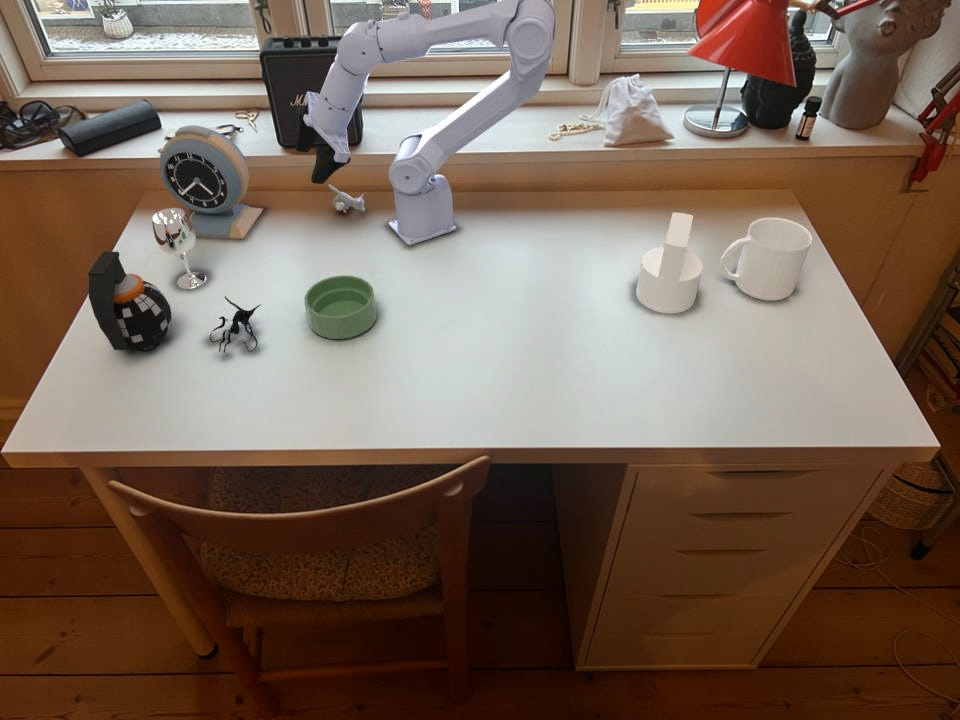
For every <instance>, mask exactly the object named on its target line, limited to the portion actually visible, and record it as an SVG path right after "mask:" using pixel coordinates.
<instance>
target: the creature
mask: <svg viewBox="0 0 960 720" xmlns="http://www.w3.org/2000/svg"><path fill="white" fill-rule="evenodd" d="M224 299H225V300H226V301H227V302H228V303H229V304H230V305H232V306H233V307H235V308H236V309H237V311H235V313H234V316H233V317H232V319H230V321H231V322H232V323H231V324H230V322H229V319H228V318H227V319H226V318H225V316H224V315H223V316H219V318H218V319H219V320H222V322H221V324H220V325H219V326H216V327H215V328H214V329H213V330H212V331H211V332H210V333H209V340H210V342H211V343H216V342H219V341H220V342H219V350H218V352H219V353H220V352H221V351H222V344H224V343H225V341H226V340H227V342H226V343H225V344H224V348H223V354H225V353H226V347H227V346H228V345H229V344H231V343H232V339H231V335H232V334H234V335H236V336H237V335H239V334H240V329H241V327H240V324H241V325H242V326H243V327H244V331H245V333H247V334H248V335H250V337H252V338H253V340H254V342H255V346H254V348H253V349H252V350H249V348H248V345H247V344H246V342H247V340H246V341H242V343H243V345H245V348H246V349H247V352H253V351H254V350H255V349H256V348H257V347H258V343H259V341H258V339H257V338H256V336H255V335H254V332H253V329H252V326H251V323H250V318H251V317H252V316H253V315H254V313H255V311H256V310H257V309H258V308H259V307H260V306H262V305H263V304H258V305H257V306H255V307H253V308H252V309H250V310H245V309H244V308H242V307H240V306H239V305H237V304H236V303H234V302H232V301H231V300H230V299H228V297H227V296H224ZM226 322H227V323H228V324H229V326H230V328H229V329H225V330H223V332H222V338H220V339H217V340H216V341H215V340H212V338H211V337H212V333H213V332H215V331H217V330H218V329H219V330H220V329H223V328H224V327H225V325H226ZM239 323H240V324H239ZM247 326H248V327H249V330H250V331H249V330H248V327H247ZM226 331H227V333H226ZM226 334H227V335H226ZM225 336H227V337H225ZM250 339H251V338H249V339H248V341H250Z"/></svg>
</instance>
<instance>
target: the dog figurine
mask: <svg viewBox="0 0 960 720" xmlns="http://www.w3.org/2000/svg"><path fill="white" fill-rule="evenodd" d="M327 186H328V188H329V189H330V190H331V191H332V192H334V193H336V194H337V195H335V196H334V198H333V199H332V204H333V206H334V209H336V211H339V212H343V214H346V213H347V211H348V210H349V208H353V209H355V210H357V211H360V212H362V213H363V214H365V211H366V208H365V206H364V205H365V200H364V198H363V196H364V195H365V194H366V192H364V193H363V194H361V195H360V196H358V197H352V196H351V195H349V194H347V193H346V192H343V191H340V190H339V189H337V188H336V187H335V186H333V185H332V184H329V183H327Z"/></svg>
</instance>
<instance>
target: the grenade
mask: <svg viewBox="0 0 960 720" xmlns="http://www.w3.org/2000/svg"><path fill="white" fill-rule="evenodd" d="M87 275H88V299H89V303H90V306H91V309H92V313H93V315H94V318H95V320H96V321H97V324H98V327H99V329H100V330H101V332H102V333H103V334H104V336H105V337H106V338H107V340H108V341H109V343H110V345H111V347H112V348H113V350H114V351H125V350H126V351H128V350H130V351H134V352H147V351H150V350H153V349H155V348H157V347H158V346H160V345H161V344H162V343H163V341H164V339H165V338H166V336H167V335H168V332H169V331H170V329H171V327H172V314H173V313H172V309H171V305H170V303H169V301H168V300H167V298H166V296H165V295H164V293H163V292H162V291H161V290H160V289H159V288H158V287H157V286H156V285H154V283H151V282H149V281H146V280H143V278H142V277H141V276H140V275H138V274H134V273H126V271H125V269H124V267H123V264H122V262H121V260H120V253H119V251H102V253H101V254H100V255H99V257H97V259H96V261H95V263H94V264H93V265H92V267H90V269H89V271H88V272H87Z"/></svg>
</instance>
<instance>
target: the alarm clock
mask: <svg viewBox="0 0 960 720" xmlns="http://www.w3.org/2000/svg"><path fill="white" fill-rule="evenodd" d="M159 159H160V160H159V170H160V175H161V179H162V181H163V184H164V186H165V187H166V189H167V191H168V192H169V193H170V195H171V196H172V197H173V198H174V199H175V200H177V202H179V203H180V204H182V205H183V206H185V207H186V208H187V209H190V210H192V211H193V212H192V213H191V214H190V215H189V216H188V218H189V220H190V221H191V223H192V225H193V227H194V230H195V233H196V237H205V238H218V239H232V240H233V239H235V240H244V239H245V237H246V236H247V234H248V233H249V231H250V230H251V229H252V227H253V225H254V224H255V223H256V221H257V220H258V218H259V217H260V215H261V214H262V212H263V211H264V208H262V207H254V206H253V207H252V206H250V205H247V204H242V203H240V202H241V201H242V199H243V198H244V197H245V195H246V193H247V192H248V189H249V185H250V171H249V170H250V169H249V165H248V163H247V160H246V158H245V155H244V154H243V152H242V150H241V149H240V147H239V146H238V145H236V143H235V142H234V141H233V140H231V139H230V138H229V137H228V136H226V135H224V134H222V133H221V132H218V131H215V130H214V129H211V128H208V127H206V126H202V125H195V124H193V125H191V124H190V125H184V126H181V127H179V128H178V129H177V130H176V131H175V132H174V135H173V136H171V138H170V139H169V140H168V141H167V142H166V143H165V144H164V146H163V148H162V150H161V152H160V158H159Z"/></svg>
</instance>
